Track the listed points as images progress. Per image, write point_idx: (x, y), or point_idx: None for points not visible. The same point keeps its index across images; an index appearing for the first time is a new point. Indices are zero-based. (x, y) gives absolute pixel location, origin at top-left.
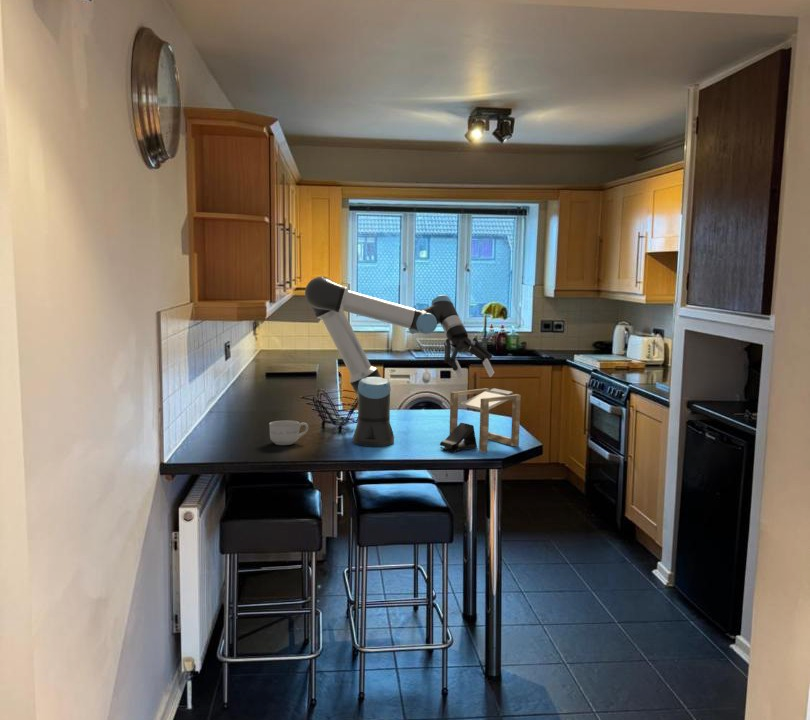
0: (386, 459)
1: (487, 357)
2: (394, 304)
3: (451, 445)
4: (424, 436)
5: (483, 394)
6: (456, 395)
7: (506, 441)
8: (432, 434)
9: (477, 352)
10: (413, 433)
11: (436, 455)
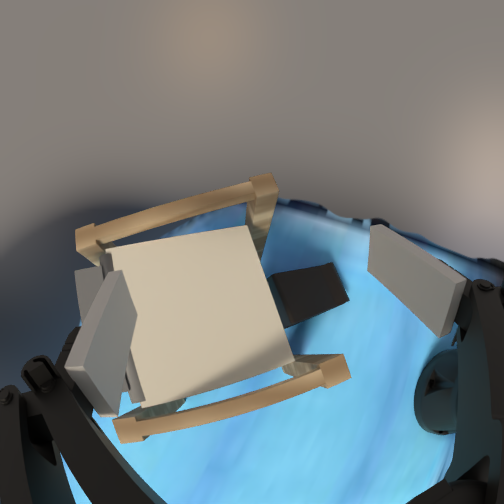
0: (445, 256)
1: (54, 379)
2: None
3: (333, 265)
4: (331, 444)
5: (172, 375)
6: (325, 360)
7: None
8: (302, 461)
9: (134, 479)
10: (344, 474)
11: (363, 258)
